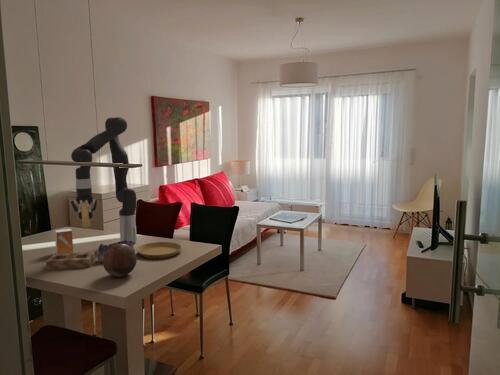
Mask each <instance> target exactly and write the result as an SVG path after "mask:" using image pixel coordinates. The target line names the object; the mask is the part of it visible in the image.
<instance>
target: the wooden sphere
mask: <svg viewBox="0 0 500 375" xmlns="http://www.w3.org/2000/svg"><path fill="white" fill-rule="evenodd" d="M136 253H137V252H136V250H135V251H134V250H133V249H132V248H131V247H130V246H128V245H125V244H116V245H113V246H111V247H110V248H109V249H107V251H106V252H105V254H104V256H103V263H102V266H103V268H104V270H105V271H106V272H107V274H109V275H111V276H112V277H117V278H118V277H119V278H120V277H124V276H127V275H129V274H130V273H132V271H133V270H134V269H135V267H136V265H137V260H138V259H137V254H136Z"/></svg>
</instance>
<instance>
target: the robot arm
mask: <svg viewBox="0 0 500 375" xmlns="http://www.w3.org/2000/svg"><path fill="white" fill-rule="evenodd" d="M104 127H105V130H104V131H101V132H100V133H97V134H96V135H94V136H92V137H91V138H90V139H89V140H88V141H87V142H86V143H84V144H82V145H80V146H78V147H76V148H75V149H73V150H72V152H71V155H70V158H71V160H72V161H73V162H75V163H77V162H93V154H96V153H98V152H99V151H100V150H101V149H102V148H104V147H105V145H106V144H109V149H110V155H111V162H112V163H123V164H129V165H130V162H129V156H128V153H127V151H126V150H125V148H124V147H123V145H122V144H121V142H120V139H119V136H120V135H122V134H124V132H126V131H127V128H128V122H127V120H126V119H125V118H124V117H121V116H118V117H108V118H107V119H105V123H104ZM91 167H92V165H91V166H81V165H80V166H79V167H77V168H76V169H75V190H76V191H75V192H76V198H75V199H74V200H71V201H70V204H71V207H72V208H73V210H74V212H75V213H78V218H79V219H80V220H82V213H81V207H82V202H86V205H87V208H88V210H89V219H90V220H91V219H92V218H93V216H94V215H93V212H94V211H96V210H97V207H98V203H99V199H96V198H94V197H93V191H92V190H93V189H92V188H93V187H92V180H91ZM129 168H130V167H129ZM129 168H119V167H113V166H112V169H113V176H114V183H115V184H114V185H115V197H116V201H117V202H119V203H122V207H121V209H119V212H118V216H119V218H118V219H119V234H120V236H119V238H120V240H119V242H121V241H125V240H127V242H129V241H133V242H134V244H136V243H137V240H138V236H137V225H136V224H137V223H136V210H137V194H136V191H135V190H134V189H132V188H129V187H128V181H127V176H128V173H129V170H130V169H129ZM92 202H93V206H92V205H91V204H92ZM77 204H78V206H77Z"/></svg>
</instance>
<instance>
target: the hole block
mask: <svg viewBox="0 0 500 375" xmlns="http://www.w3.org/2000/svg"><path fill="white" fill-rule="evenodd" d="M95 254H96V253H95V252H94V251H93V252H73V253H69V254H57V253H53V255H51V256H50V257H49V258H48V259H47V260H46V261H45V264H46V265H45V266H46V270H62V269H80V268H81V269H82V268H90V267H91V266H92V264H93V263H94V261H95V259H96V258H95Z"/></svg>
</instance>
